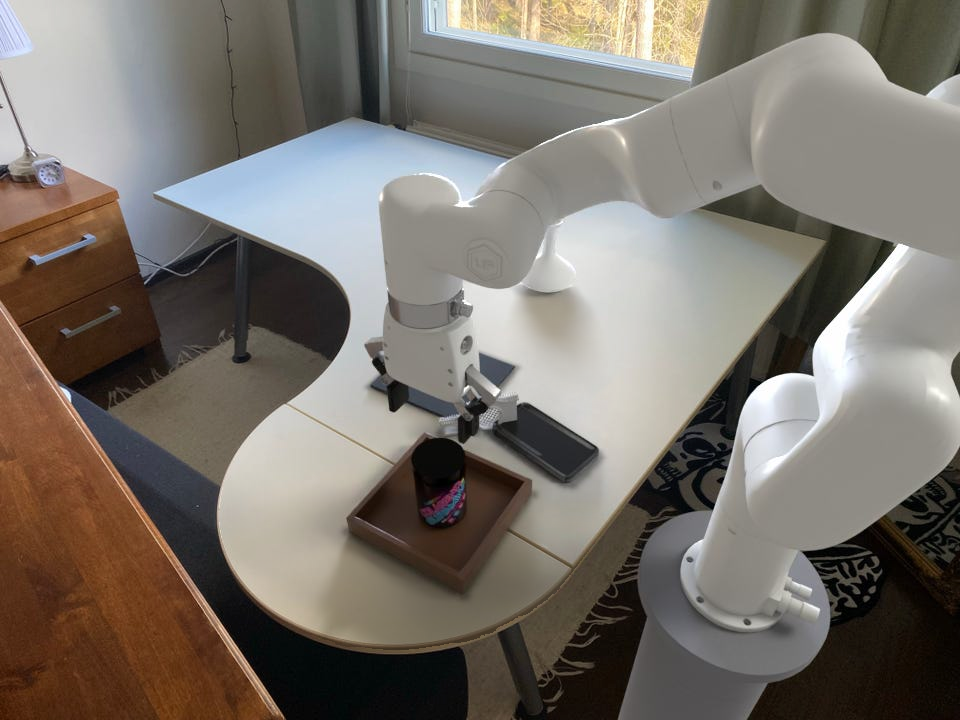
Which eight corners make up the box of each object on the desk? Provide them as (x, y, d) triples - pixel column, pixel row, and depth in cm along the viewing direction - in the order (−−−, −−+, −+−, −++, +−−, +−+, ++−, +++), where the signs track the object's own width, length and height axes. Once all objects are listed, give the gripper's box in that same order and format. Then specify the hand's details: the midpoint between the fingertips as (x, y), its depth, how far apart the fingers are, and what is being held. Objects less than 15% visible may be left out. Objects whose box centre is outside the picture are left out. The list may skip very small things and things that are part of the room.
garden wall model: (442, 439, 99) (438, 409, 95) (439, 431, 100) (436, 401, 97) (519, 424, 101) (519, 394, 97) (516, 416, 102) (515, 386, 98)
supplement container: (408, 523, 87) (402, 470, 80) (428, 485, 92) (423, 432, 85) (457, 537, 85) (454, 484, 78) (474, 497, 90) (473, 444, 83)
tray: (531, 493, 91) (532, 479, 89) (463, 594, 79) (462, 580, 78) (425, 445, 98) (424, 431, 96) (348, 531, 86) (345, 517, 85)
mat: (514, 367, 111) (515, 365, 111) (464, 426, 101) (464, 424, 101) (426, 334, 119) (426, 333, 118) (370, 386, 108) (370, 384, 108)
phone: (524, 400, 104) (602, 449, 95) (523, 405, 104) (601, 455, 96) (488, 426, 99) (567, 480, 91) (488, 431, 100) (567, 485, 92)
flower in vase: (552, 305, 125) (561, 180, 109) (506, 283, 131) (508, 161, 115) (592, 277, 133) (606, 156, 117) (547, 257, 139) (554, 140, 123)
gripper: (519, 306, 66) (513, 428, 77) (380, 259, 73) (392, 376, 84) (480, 347, 61) (479, 470, 72) (335, 292, 68) (354, 412, 79)
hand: (433, 420), depth 78 cm, fingers open, 9 cm apart
